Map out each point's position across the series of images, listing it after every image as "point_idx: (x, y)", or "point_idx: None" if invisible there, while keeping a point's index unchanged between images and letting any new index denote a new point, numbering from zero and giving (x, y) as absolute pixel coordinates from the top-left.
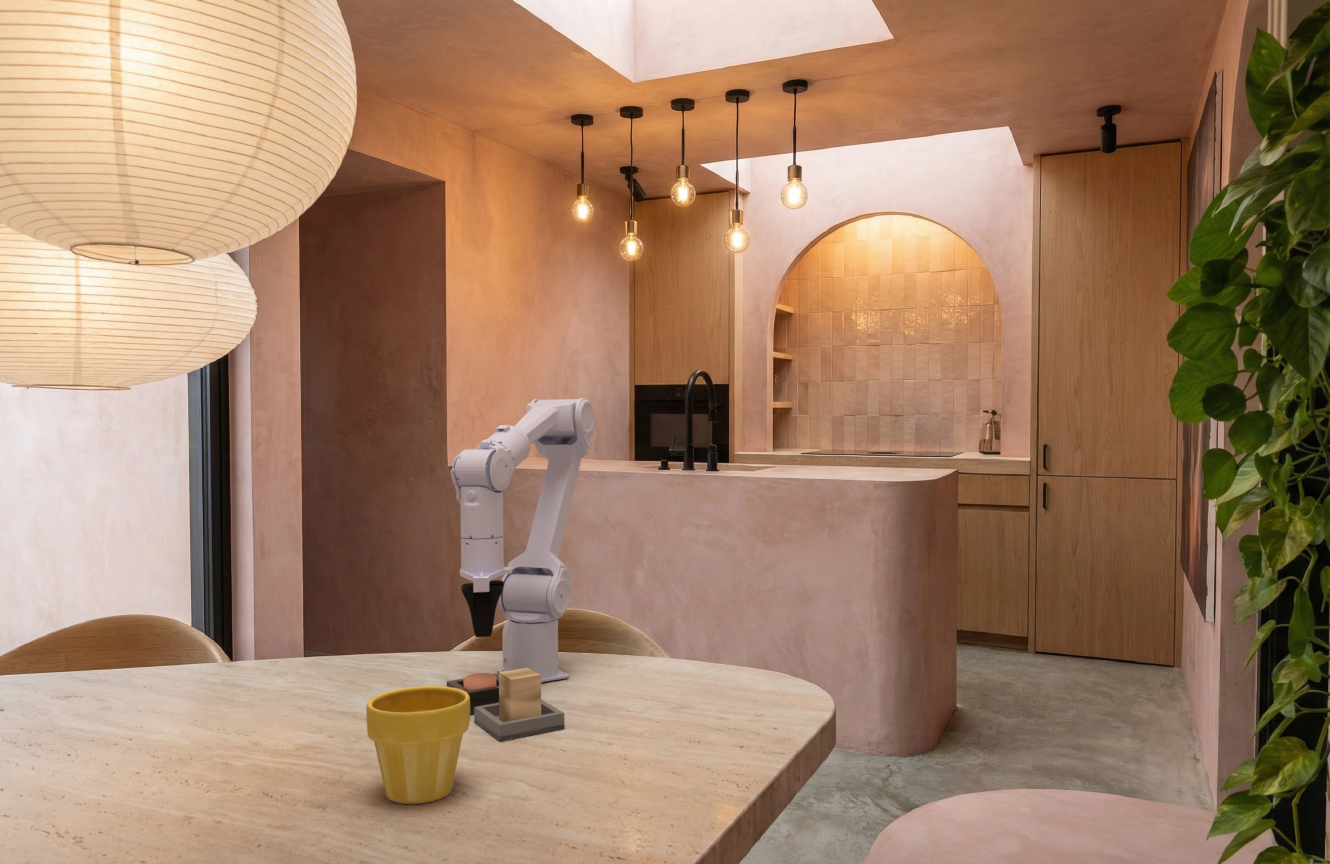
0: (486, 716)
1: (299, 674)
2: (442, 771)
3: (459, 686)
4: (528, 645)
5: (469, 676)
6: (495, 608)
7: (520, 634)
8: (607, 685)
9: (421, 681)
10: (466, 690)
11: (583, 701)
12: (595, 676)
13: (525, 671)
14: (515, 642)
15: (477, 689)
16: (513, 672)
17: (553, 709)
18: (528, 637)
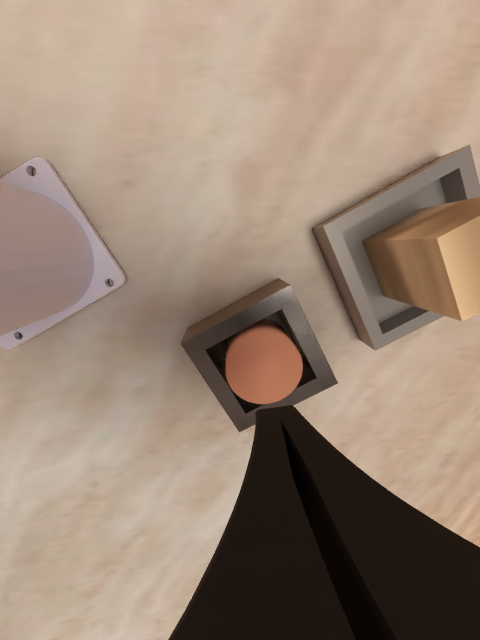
0: (435, 318)
1: (66, 634)
2: None
3: (283, 400)
4: (36, 273)
5: (252, 394)
6: (384, 488)
7: (3, 309)
8: (105, 32)
9: (95, 471)
10: (315, 382)
11: (251, 112)
12: (11, 72)
13: (476, 242)
14: (17, 321)
15: (312, 361)
16: (477, 279)
17: (435, 174)
18: (14, 276)
